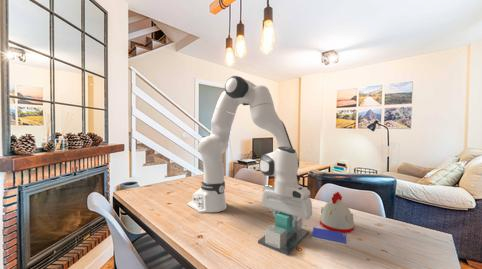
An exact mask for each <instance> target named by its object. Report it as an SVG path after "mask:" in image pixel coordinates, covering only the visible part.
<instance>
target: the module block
mask: <svg viewBox="0 0 482 269" xmlns="http://www.w3.org/2000/svg"><path fill="white" fill-rule="evenodd" d="M291 220H294V218H293V215H289V214H286V213H282V212H279V211H278V212H277V214H276V215H275V216H274V225H275V226H278V227H281V228H283V229H286V230H287V234H288V233H289V232H290V231H291V230H292V229H293V228H295V226H294V227H292V226H290V221H291Z"/></svg>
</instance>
